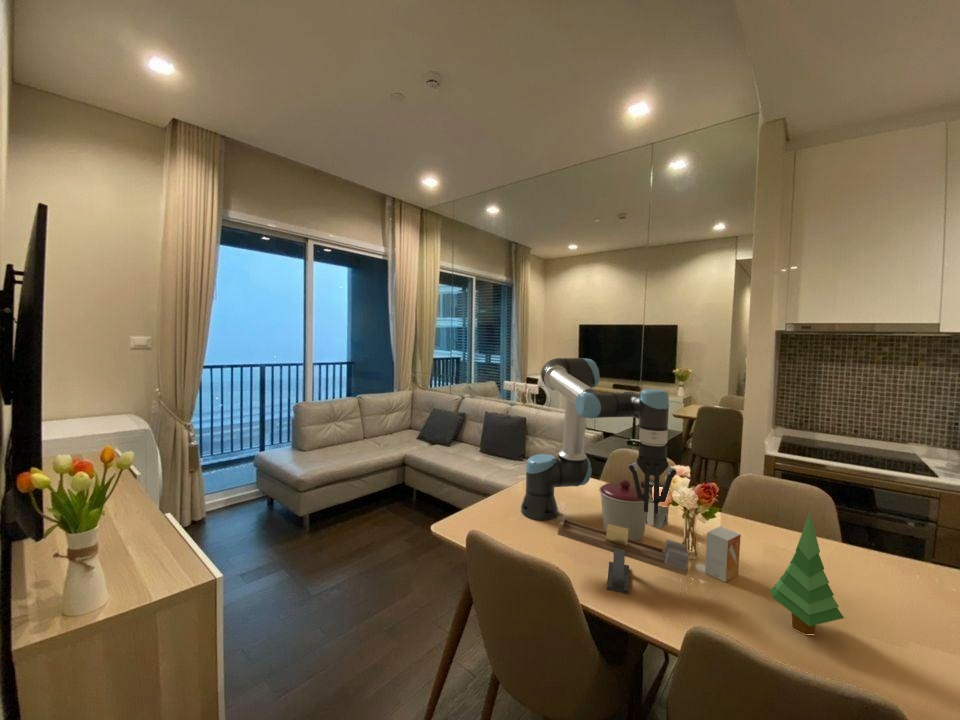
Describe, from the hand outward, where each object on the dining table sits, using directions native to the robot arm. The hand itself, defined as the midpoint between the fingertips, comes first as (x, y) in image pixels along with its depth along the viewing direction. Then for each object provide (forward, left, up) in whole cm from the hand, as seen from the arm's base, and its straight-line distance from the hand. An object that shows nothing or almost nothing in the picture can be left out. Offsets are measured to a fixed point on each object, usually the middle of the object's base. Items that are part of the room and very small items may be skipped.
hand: (650, 523), depth 116 cm
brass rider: (0, -9, -8) cm, 12 cm away
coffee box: (-45, +4, -19) cm, 49 cm away
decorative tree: (+5, +36, -19) cm, 41 cm away
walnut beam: (0, -8, -9) cm, 12 cm away
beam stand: (0, -8, -19) cm, 20 cm away
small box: (-15, +22, -19) cm, 33 cm away
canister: (-29, -7, -19) cm, 35 cm away
